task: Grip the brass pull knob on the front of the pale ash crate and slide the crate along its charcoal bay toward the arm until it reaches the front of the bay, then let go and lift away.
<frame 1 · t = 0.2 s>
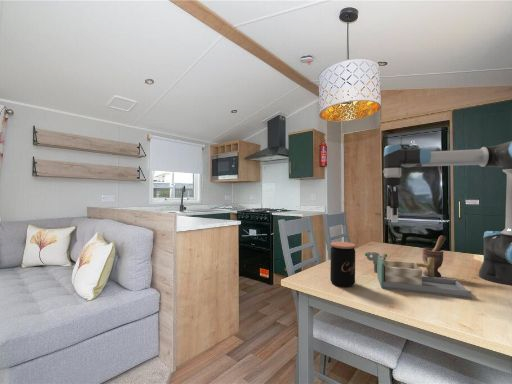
hand: (392, 220, 126), 28 cm above the table, tool pointing down, fingers open, 13 cm apart
bay: (419, 286, 113), on the table
coffee jar: (342, 284, 117), on the table
mortar and pestle: (433, 275, 129), on the table
crate: (407, 269, 115), point 7 cm above the table, slide at 0.0 cm
mechanical component: (375, 272, 133), on the table
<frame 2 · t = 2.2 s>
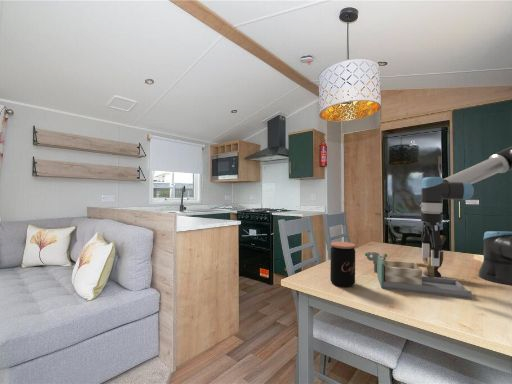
hand: (430, 261, 112), 12 cm above the table, tool pointing down, fingers open, 13 cm apart
nothing on the table moved.
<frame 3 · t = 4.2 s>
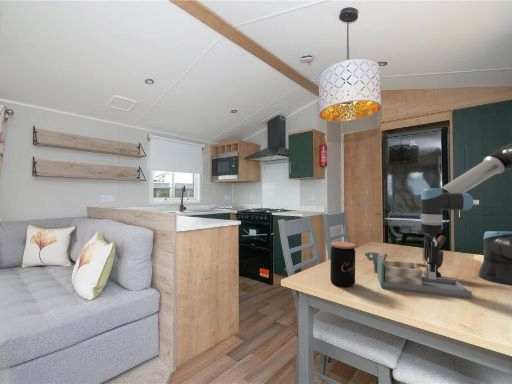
hand: (430, 277, 112), 5 cm above the table, tool pointing down, fingers closed on crate, 2 cm apart
crate: (407, 269, 115), point 7 cm above the table, slide at 0.0 cm, touching gripper
everything else where it was.
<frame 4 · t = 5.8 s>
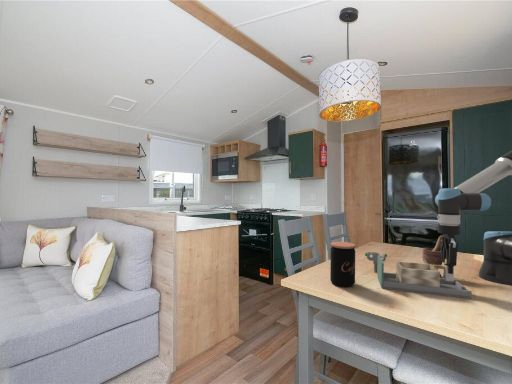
hand: (448, 279, 110), 5 cm above the table, tool pointing down, fingers closed on crate, 2 cm apart
crate: (424, 271, 112), point 7 cm above the table, slide at 6.4 cm, touching gripper
everything else where it was.
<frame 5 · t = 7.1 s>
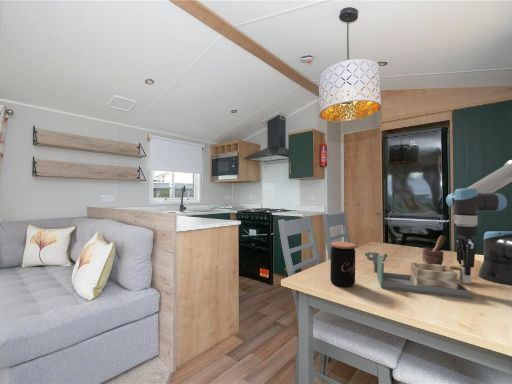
hand: (464, 281, 108), 5 cm above the table, tool pointing down, fingers closed on crate, 2 cm apart
crate: (440, 273, 111), point 7 cm above the table, slide at 12.2 cm, touching gripper
everything else where it was.
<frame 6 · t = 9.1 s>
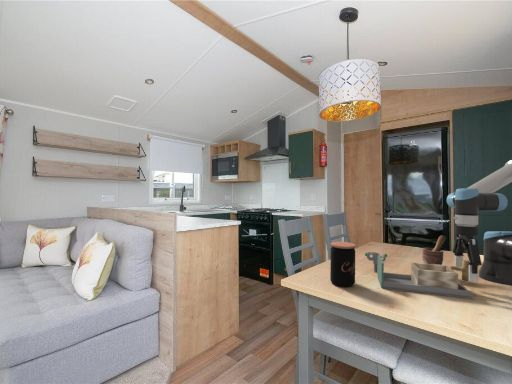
hand: (465, 275, 108), 7 cm above the table, tool pointing down, fingers open, 13 cm apart
crate: (440, 273, 110), point 7 cm above the table, slide at 12.5 cm
everything else where it was.
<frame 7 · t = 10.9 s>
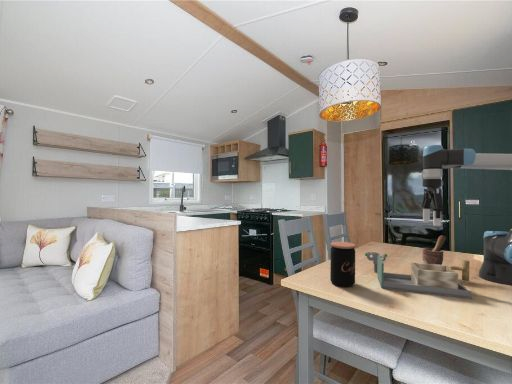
hand: (431, 223, 121), 27 cm above the table, tool pointing down, fingers open, 13 cm apart
nothing on the table moved.
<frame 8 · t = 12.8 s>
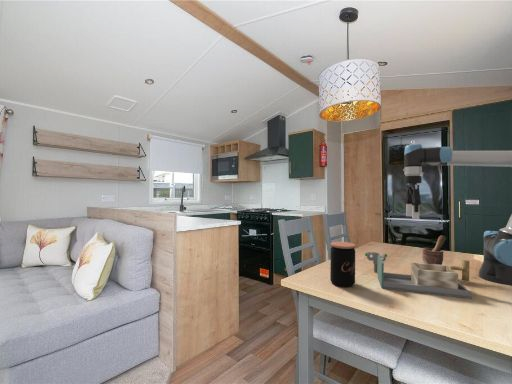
hand: (412, 217, 130), 29 cm above the table, tool pointing down, fingers open, 13 cm apart
nothing on the table moved.
at the end: crate slide at 12.5 cm; the gripper is holding nothing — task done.
